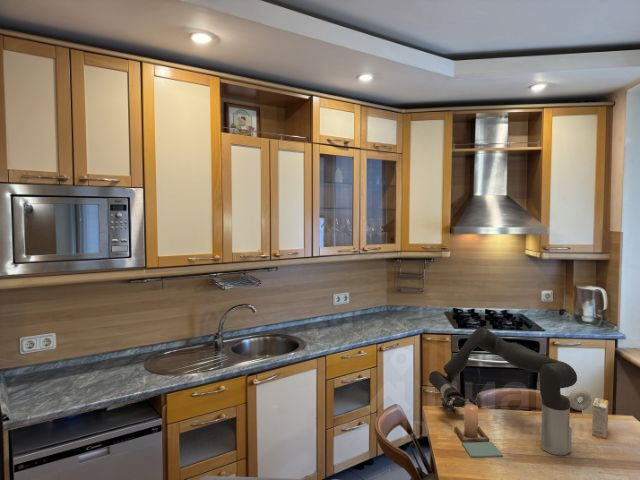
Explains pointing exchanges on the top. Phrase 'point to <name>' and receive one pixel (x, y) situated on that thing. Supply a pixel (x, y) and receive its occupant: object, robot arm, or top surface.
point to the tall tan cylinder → (471, 421)
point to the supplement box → (600, 418)
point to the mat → (482, 449)
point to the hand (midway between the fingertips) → (464, 411)
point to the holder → (472, 440)
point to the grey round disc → (585, 401)
